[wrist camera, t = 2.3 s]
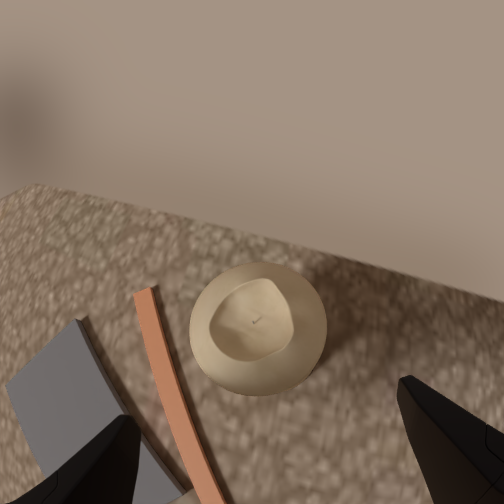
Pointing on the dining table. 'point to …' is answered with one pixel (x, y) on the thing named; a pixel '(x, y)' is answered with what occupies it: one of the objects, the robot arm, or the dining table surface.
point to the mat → (78, 411)
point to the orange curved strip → (175, 400)
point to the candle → (258, 329)
